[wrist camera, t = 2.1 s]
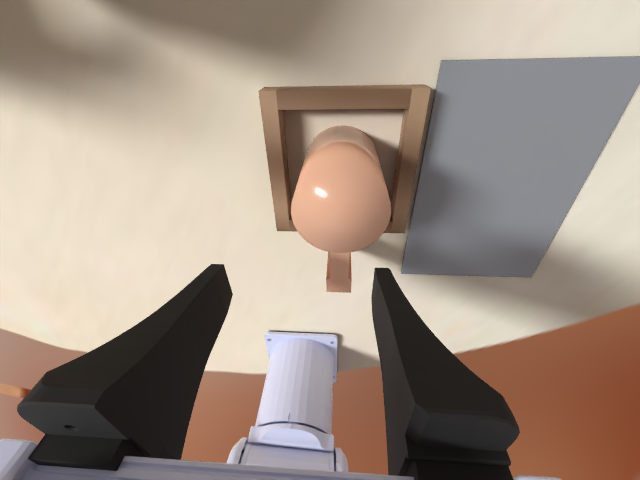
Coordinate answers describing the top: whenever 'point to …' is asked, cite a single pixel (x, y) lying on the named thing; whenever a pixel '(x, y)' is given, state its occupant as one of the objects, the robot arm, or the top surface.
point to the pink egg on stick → (341, 199)
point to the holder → (345, 98)
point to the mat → (509, 159)
